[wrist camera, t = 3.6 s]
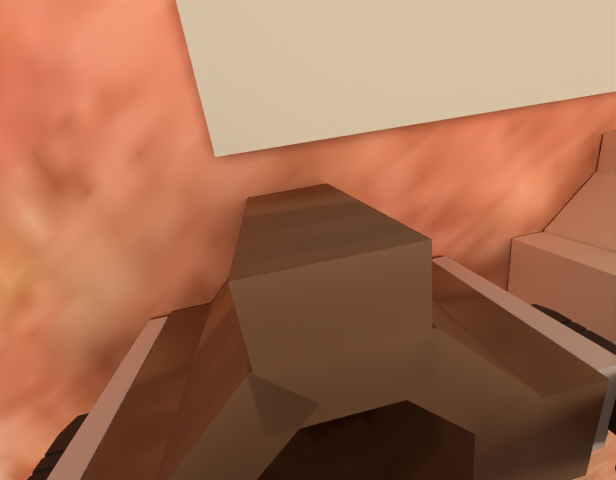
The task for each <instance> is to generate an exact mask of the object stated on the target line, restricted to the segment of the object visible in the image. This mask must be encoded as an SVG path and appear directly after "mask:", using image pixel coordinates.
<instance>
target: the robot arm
mask: <svg viewBox="0 0 616 480" xmlns="http://www.w3.org/2000/svg"><path fill="white" fill-rule="evenodd" d="M432 262H434V263H435V264H437V265H438V266H440V267H441V268H443V269H444V270H446V271H447V272H449V273H450V274H452V275H453V276H455V277H456V278H458V279H459V280H461V281H462V282H464V283H465V284H467V285H468V286H470V287H471V288H473V289H474V290H476V291H477V292H479V293H481V294H482V295H484V296H485V297H487V298H488V299H490V300H491V301H493V302H494V303H496V304H497V305H499V306H500V307H502V308H503V309H505V310H506V311H508V312H509V313H511V314H512V315H514V316H515V317H517V318H518V319H520V320H521V321H523V322H524V323H526V324H527V325H529V326H530V327H532V328H533V329H535V330H536V331H538V332H539V333H541V334H542V335H544V336H546V337H547V338H549V339H550V340H552V341H553V342H555V343H556V344H558V345H559V346H561V347H562V348H564V349H565V350H567V351H568V352H570V353H571V354H573V355H574V356H576V357H577V358H579V359H580V360H582V361H583V362H585V363H586V364H588V365H589V366H591V367H592V368H594V369H595V370H597V371H598V372H600V373H601V374H603V375H604V376H606V377H607V378H609V379H610V380H609V384H608V388H607V392H606V396H605V400H604V404H603V408H602V412H601V416H600V420H599V424H598V428H597V432H596V436H595V440H594V444H593V448H592V450H596V449H599V448H602V447H604V445H605V441H606V437H607V433H608V430H610V431H611V432H613V433H614V434H615V435H616V344H614V343H612V342H610V341H608V340H607V339H605V338H603V337H601V336H599V335H598V334H596V333H594V332H592V331H590V330H589V331H588V330H587V329H586V328H585V327H583V326H581V325H580V324H578V323H576V322H572V320H571V319H569V318H567V317H565V316H563V315H562V314H560V313H558V312H556V311H554V310H551V309H549V308H546V307H543V306H540V305H537V304H532V305H529V304H527V303H526V302H524V301H522V300H520V299H519V298H517V297H515V296H514V295H512V294H510V293H509V292H507V291H505V290H503V289H502V288H500V287H498V286H497V285H495V284H493V283H491V282H490V281H488V280H486V279H485V278H483V277H481V276H480V275H478V274H476V273H474V272H473V271H471V270H469V269H468V268H466V267H464V266H462V265H461V264H459V263H457V262H456V261H454V260H452V259H451V258H449V257H447V256H444V257H439V258H435V259H432ZM168 318H169V317H168V316H167V317H162V318H158V319H153V320H149V321H148V322H147V324H146V325H145V327H144V328H143V330H142V332H141V333H140V335H139V336H138V338H137V339H136V341H135V342H134V344H133V346H132V347H131V349H130V350H129V352H128V353H127V355H126V356H125V358H124V360H123V361H122V363H121V364H120V366H119V367H118V369H117V371H116V372H115V374H114V375H113V377H112V378H111V380H110V381H109V383H108V385H107V386H106V388H105V389H104V391H103V392H102V394H101V395H100V397H99V399H98V400H97V402H96V403H95V405H94V406H93V408H92V410H91V411H90V413H88V414H84V415H79V416H77V417H76V418H75V419H74V420H73V421H72V422H71V423H70V424H69V425H68V426H67V427H66V428H65V429H64V430H63V431H62V432H61V433H60V434H59V435H58V436H57V438H56V439H55V441H54V442H53V444H52V445H51V446H50V448H49V449H48V451H47V452H46V454H45V458H43V459H41V461H40V462H39V464H38V465H37V467H36V468H35V469H34V471H33V475H32V476H30V477H29V478H28V479H27V480H82V479H83V477H84V475H85V473H86V471H87V469H88V467H89V466H90V464H91V462H92V460H93V458H94V456H95V454H96V453H97V451H98V449H99V447H100V445H101V443H102V441H103V439H104V438H105V436H106V434H107V432H108V430H109V428H110V426H111V425H112V423H113V421H114V419H115V417H116V415H117V413H118V412H119V410H120V408H121V406H122V404H123V402H124V400H125V399H126V397H127V395H128V393H129V391H130V389H131V387H132V385H133V384H134V382H135V380H136V378H137V376H138V374H139V372H140V371H141V369H142V367H143V365H144V363H145V361H146V359H147V358H148V356H149V354H150V352H151V350H152V348H153V346H154V345H155V343H156V341H157V339H158V337H159V335H160V333H161V331H162V330H163V328H164V326H165V324H166V322H167V320H168ZM615 470H616V466H615Z"/></svg>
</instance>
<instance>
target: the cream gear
mask: <svg viewBox="0 0 616 480" xmlns="http://www.w3.org/2000/svg"><path fill="white" fill-rule="evenodd" d="M508 292H509V293H510V294H512V295H514V296H515V297H517V298H519V299H520V300H522V301H524V302H526V303H527V304H529V305H532V304H537V305H540V306H543V307H546V308H549V309H551V310H554V311H556V312H558V313H560V314H562V315H563V316H565V317H567V318H569V319H571V320H572V322H576V323H578V324H580V325H581V326H583V327H585V328H586V329H587V330H588V331H589V330H590V331H592V332H594V333H596V334H598V335H599V336H601V337H603V338H605V339H607V340H608V341H610V342H612V343H614V344H616V132H610V133H605V134H603V140H602V145H601V151H600V157H599V162H598V168H597V172H595V173H594V174H593V176H592V177H591V178H590V179H589V180H588V181H587V182H586V183H585V185H584V186H583V187H582V188H581V189H580V190H579V191H578V192H577V194H576V195H575V196H574V197H573V198H572V199H571V200H570V201H569V203H568V204H567V205H566V206H565V207H564V208H563V209H562V210H561V212H560V213H559V214H558V215H557V216H556V217H555V218H554V219H553V221H552V222H551V223H550V224H549V225H548V226H547V227H546V228H545V229H544V232H539V233H535V234H530V235H525V236H521V237H516V238H512V247H511V258H510V270H509V281H508Z"/></svg>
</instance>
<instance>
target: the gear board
mask: <svg viewBox="0 0 616 480" xmlns="http://www.w3.org/2000/svg"><path fill="white" fill-rule="evenodd" d="M176 4H177V8H178V12H179V16H180V19H181V23H182V27H183V31H184V35H185V39H186V43H187V47H188V51H189V55H190V59H191V63H192V67H193V71H194V75H195V79H196V83H197V87H198V91H199V95H200V99H201V103H202V107H203V111H204V115H205V119H206V123H207V127H208V131H209V135H210V139H211V143H212V147H213V151H214V154H215V157H219V156H225V155H231V154H237V153H243V152H249V151H255V150H261V149H267V148H273V147H280V146H286V145H292V144H298V143H304V142H310V141H316V140H322V139H328V138H334V137H340V136H347V135H353V134H359V133H365V132H371V131H377V130H383V129H389V128H395V127H401V126H407V125H414V124H420V123H426V122H432V121H438V120H444V119H450V118H456V117H462V116H468V115H474V114H481V113H487V112H493V111H499V110H505V109H511V108H517V107H523V106H529V105H535V104H541V103H548V102H554V101H560V100H566V99H572V98H578V97H584V96H590V95H596V94H602V93H608V92H615V91H616V0H176Z"/></svg>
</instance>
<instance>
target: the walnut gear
mask: <svg viewBox="0 0 616 480" xmlns="http://www.w3.org/2000/svg"><path fill="white" fill-rule="evenodd" d="M609 380H610V379H609V378H607V377H606V376H604V375H603V374H601V373H600V372H598V371H597V370H595V369H594V368H592V367H591V366H589V365H588V364H586V363H585V362H583V361H582V360H580V359H579V358H577V357H576V356H574V355H573V354H571V353H570V352H568V351H567V350H565V349H564V348H562V347H561V346H559V345H558V344H556V343H555V342H553V341H552V340H550V339H549V338H547V337H546V336H544V335H542V334H541V333H539V332H538V331H536V330H535V329H533V328H532V327H530V326H529V325H527V324H526V323H524V322H523V321H521V320H520V319H518V318H517V317H515V316H514V315H512V314H511V313H509V312H508V311H506V310H505V309H503V308H502V307H500V306H499V305H497V304H496V303H494V302H493V301H491V300H490V299H488V298H487V297H485V296H484V295H482V294H481V293H479V292H477V291H476V290H474V289H473V288H471V287H470V286H468V285H467V284H465V283H464V282H462V281H461V280H459V279H458V278H456V277H455V276H453V275H452V274H450V273H449V272H447V271H446V270H444V269H443V268H441V267H440V266H438V265H437V264H435V263H434V262H432V242H431V239H430V238H428V237H426V236H424V235H422V234H421V233H419V232H417V231H415V230H413V229H411V228H409V227H407V226H406V225H404V224H402V223H400V222H398V221H396V220H394V219H392V218H391V217H389V216H387V215H385V214H383V213H381V212H379V211H378V210H376V209H374V208H372V207H370V206H368V205H366V204H364V203H363V202H361V201H359V200H357V199H355V198H353V197H351V196H349V195H348V194H346V193H344V192H342V191H340V190H338V189H336V188H335V187H333V186H331V185H329V184H322V185H317V186H311V187H305V188H300V189H294V190H289V191H283V192H278V193H272V194H267V195H261V196H256V197H250V198H248V201H247V205H246V209H245V213H244V217H243V222H242V226H241V230H240V234H239V238H238V242H237V247H236V251H235V255H234V259H233V263H232V267H231V272H230V276H229V278H228V279H227V281H226V282H225V283H224V285H223V286H222V288H221V289H220V291H219V292H218V294H217V295H216V296H215V298H214V299H213V300H212V303H209V304H204V305H200V306H195V307H190V308H186V309H181V310H176V311H172V313H171V315H170V317H169V318H168V320H167V322H166V324H165V326H164V328H163V330H162V331H161V333H160V335H159V337H158V339H157V341H156V343H155V345H154V346H153V348H152V350H151V352H150V354H149V356H148V358H147V359H146V361H145V363H144V365H143V367H142V369H141V371H140V372H139V374H138V376H137V378H136V380H135V382H134V384H133V385H132V387H131V389H130V391H129V393H128V395H127V397H126V399H125V400H124V402H123V404H122V406H121V408H120V410H119V412H118V413H117V415H116V417H115V419H114V421H113V423H112V425H111V426H110V428H109V430H108V432H107V434H106V436H105V438H104V439H103V441H102V443H101V445H100V447H99V449H98V451H97V453H96V454H95V456H94V458H93V460H92V462H91V464H90V466H89V467H88V469H87V471H86V473H85V475H84V477H83V479H82V480H572V479H576V478H579V477H582V476H585V475H586V472H587V468H588V464H589V460H590V456H591V452H592V448H593V444H594V440H595V436H596V432H597V428H598V424H599V420H600V416H601V412H602V408H603V404H604V400H605V396H606V392H607V388H608V384H609Z"/></svg>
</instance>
